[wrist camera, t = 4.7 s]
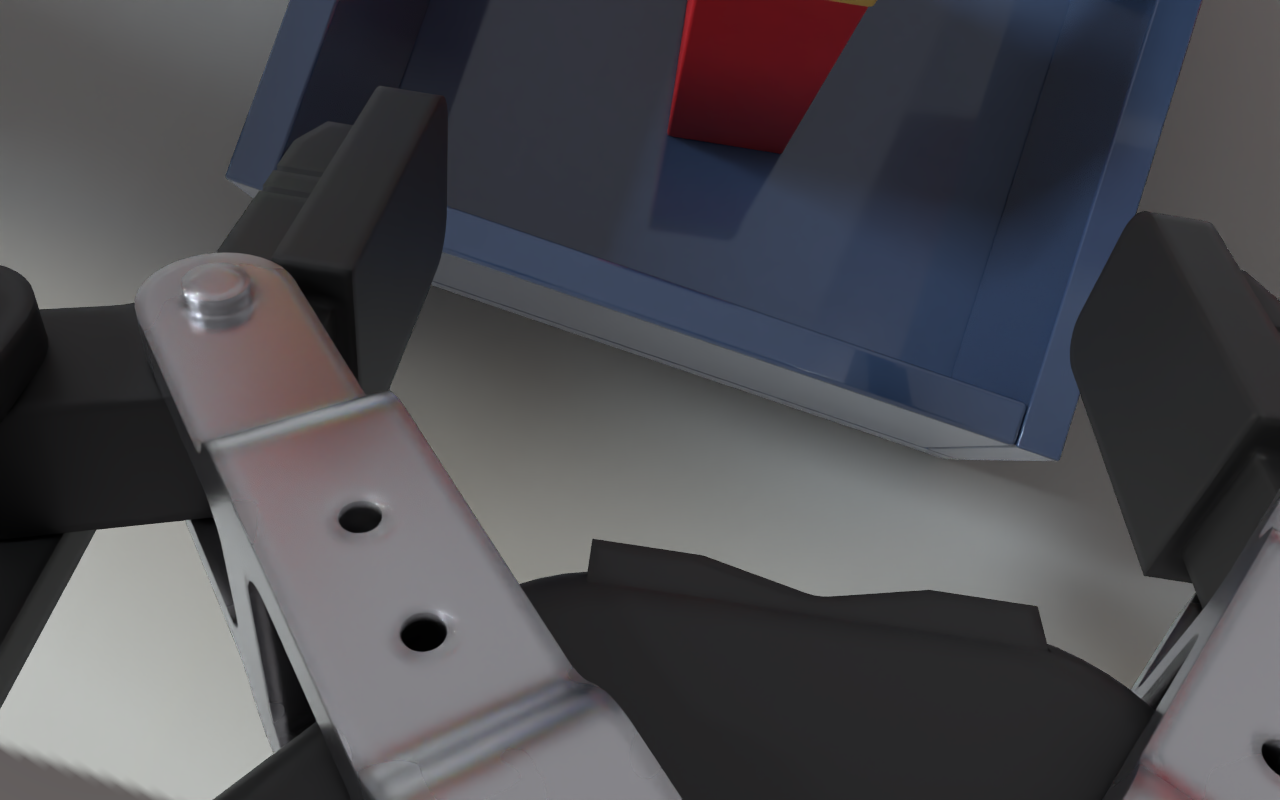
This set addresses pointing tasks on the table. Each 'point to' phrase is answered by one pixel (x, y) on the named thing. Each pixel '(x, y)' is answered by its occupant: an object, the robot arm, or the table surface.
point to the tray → (778, 192)
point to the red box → (756, 67)
